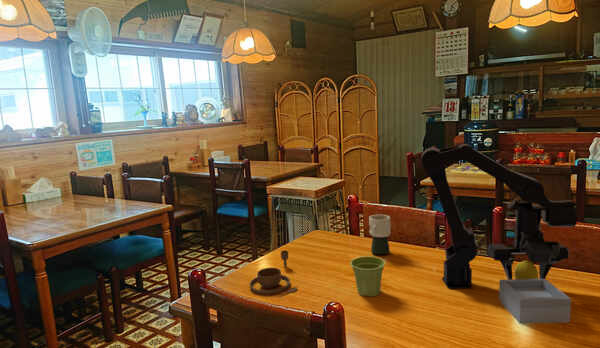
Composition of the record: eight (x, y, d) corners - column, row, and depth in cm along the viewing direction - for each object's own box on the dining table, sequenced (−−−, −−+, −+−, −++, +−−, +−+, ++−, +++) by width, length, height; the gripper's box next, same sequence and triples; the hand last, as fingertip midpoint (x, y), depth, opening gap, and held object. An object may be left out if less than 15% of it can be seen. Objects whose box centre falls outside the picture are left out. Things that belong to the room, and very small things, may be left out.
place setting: (235, 286, 123) (234, 267, 122) (284, 266, 136) (283, 249, 135) (273, 303, 110) (272, 283, 109) (323, 279, 124) (322, 261, 123)
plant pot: (365, 303, 106) (364, 271, 105) (345, 290, 115) (343, 260, 113) (393, 294, 111) (392, 263, 109) (371, 282, 119) (370, 253, 118)
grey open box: (519, 324, 93) (520, 299, 92) (499, 301, 104) (499, 279, 103) (569, 323, 92) (570, 298, 91) (543, 300, 103) (544, 278, 102)
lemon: (540, 293, 106) (542, 264, 105) (517, 292, 107) (518, 264, 106) (533, 284, 112) (534, 256, 110) (511, 283, 113) (512, 256, 111)
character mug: (376, 246, 148) (375, 212, 146) (395, 249, 144) (394, 214, 142) (364, 256, 139) (363, 220, 137) (384, 259, 135) (383, 222, 133)
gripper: (504, 236, 100) (502, 295, 102) (584, 233, 98) (580, 294, 101) (486, 223, 110) (485, 277, 113) (558, 221, 109) (555, 276, 112)
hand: (525, 281), depth 109 cm, fingers open, 8 cm apart
